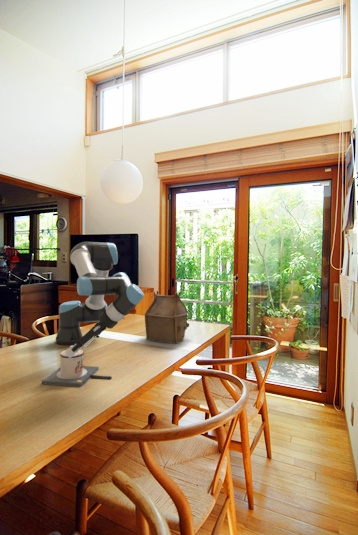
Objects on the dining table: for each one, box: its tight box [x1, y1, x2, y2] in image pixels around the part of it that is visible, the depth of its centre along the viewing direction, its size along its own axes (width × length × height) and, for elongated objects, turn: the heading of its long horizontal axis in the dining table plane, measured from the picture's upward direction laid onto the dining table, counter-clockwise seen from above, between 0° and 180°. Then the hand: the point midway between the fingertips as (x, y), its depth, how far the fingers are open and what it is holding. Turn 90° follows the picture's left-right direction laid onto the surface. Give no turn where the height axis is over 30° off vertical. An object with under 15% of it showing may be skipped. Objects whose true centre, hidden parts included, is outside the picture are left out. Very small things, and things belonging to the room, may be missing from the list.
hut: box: [144, 290, 190, 345], centre depth 185 cm, size 23×27×30 cm
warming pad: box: [41, 365, 113, 387], centre depth 123 cm, size 25×18×2 cm
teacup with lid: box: [59, 345, 84, 378], centre depth 124 cm, size 12×9×12 cm
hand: (75, 350), depth 123 cm, fingers open, 13 cm apart
